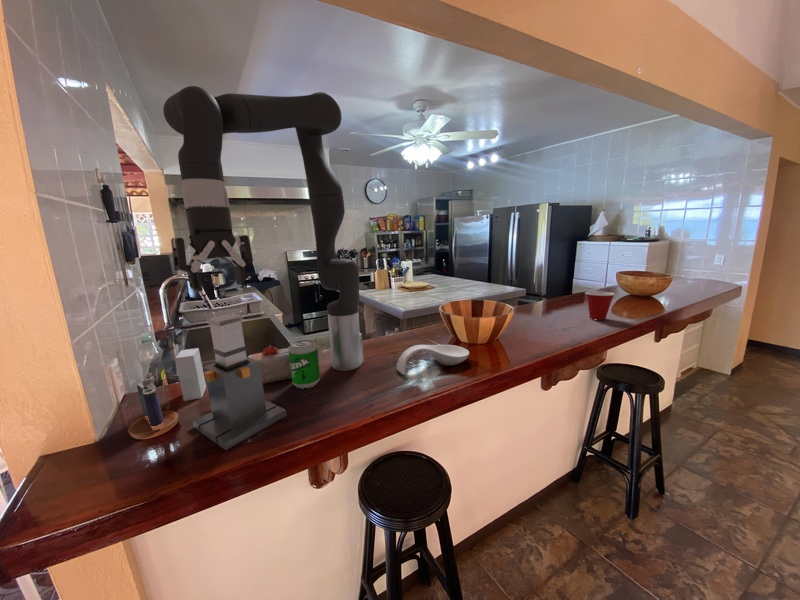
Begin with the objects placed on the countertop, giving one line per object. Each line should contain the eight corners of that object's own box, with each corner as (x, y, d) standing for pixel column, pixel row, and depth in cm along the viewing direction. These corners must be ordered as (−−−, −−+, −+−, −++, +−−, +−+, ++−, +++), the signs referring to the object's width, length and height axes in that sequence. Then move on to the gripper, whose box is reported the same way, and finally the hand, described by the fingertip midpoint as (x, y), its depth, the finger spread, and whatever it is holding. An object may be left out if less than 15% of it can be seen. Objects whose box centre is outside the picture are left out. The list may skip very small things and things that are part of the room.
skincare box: (188, 391, 87) (180, 349, 85) (206, 387, 89) (199, 347, 86) (182, 401, 82) (174, 358, 79) (201, 398, 83) (193, 355, 81)
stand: (253, 399, 82) (245, 347, 79) (286, 415, 74) (279, 359, 71) (193, 427, 71) (182, 368, 68) (225, 450, 63) (214, 385, 60)
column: (246, 411, 76) (231, 313, 70) (257, 417, 73) (242, 315, 68) (224, 422, 72) (206, 318, 66) (235, 429, 69) (217, 322, 64)
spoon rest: (454, 352, 109) (454, 332, 108) (476, 364, 99) (477, 342, 97) (391, 366, 99) (390, 344, 98) (409, 382, 89) (408, 358, 87)
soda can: (310, 375, 95) (306, 336, 92) (325, 382, 90) (322, 341, 87) (287, 385, 89) (282, 344, 86) (302, 393, 84) (298, 350, 82)
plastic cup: (604, 315, 144) (607, 289, 142) (616, 322, 134) (620, 294, 131) (578, 315, 146) (581, 289, 143) (589, 322, 136) (592, 294, 133)
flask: (143, 417, 75) (133, 375, 73) (158, 412, 77) (149, 371, 75) (152, 433, 69) (142, 388, 67) (168, 427, 71) (159, 383, 69)
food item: (248, 390, 87) (243, 356, 85) (248, 378, 94) (244, 346, 92) (300, 379, 92) (296, 347, 90) (296, 369, 99) (293, 339, 97)
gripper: (233, 208, 70) (243, 281, 73) (157, 205, 59) (173, 292, 62) (252, 206, 66) (262, 283, 69) (174, 202, 54) (190, 295, 58)
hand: (220, 287), depth 66 cm, fingers open, 8 cm apart
